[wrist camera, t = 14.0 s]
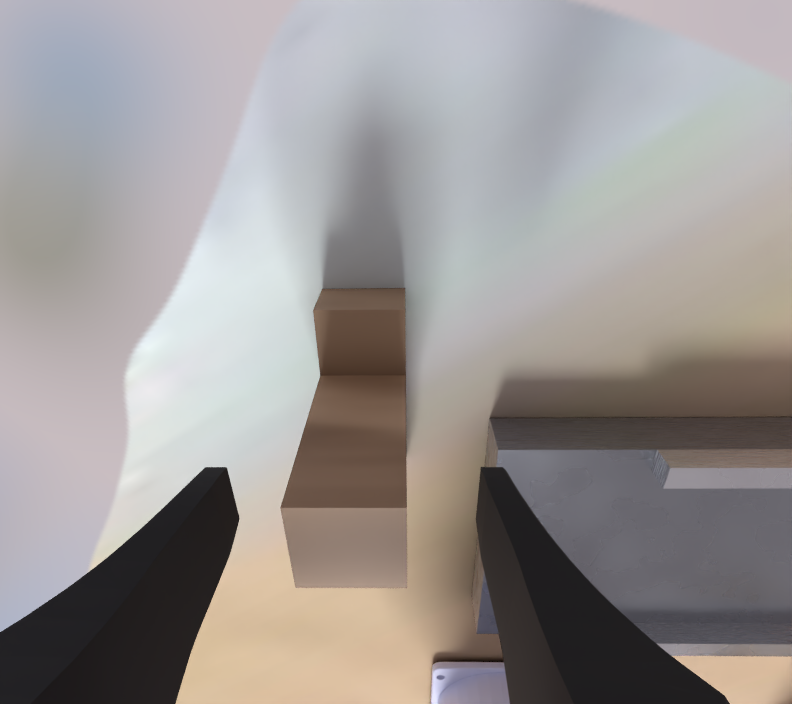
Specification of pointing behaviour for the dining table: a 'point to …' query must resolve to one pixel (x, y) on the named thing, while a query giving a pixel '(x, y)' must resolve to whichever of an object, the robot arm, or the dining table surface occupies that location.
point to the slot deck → (664, 522)
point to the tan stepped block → (353, 448)
